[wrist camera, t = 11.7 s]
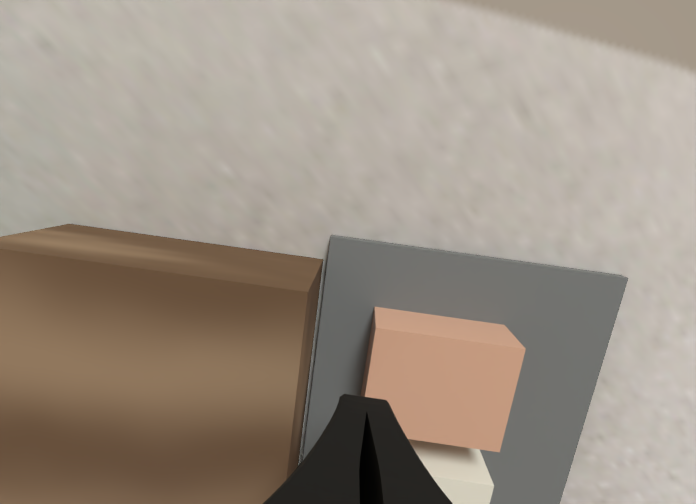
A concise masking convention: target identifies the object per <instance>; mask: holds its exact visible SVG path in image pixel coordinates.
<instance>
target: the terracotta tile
mask: <svg viewBox="0 0 696 504" xmlns="http://www.w3.org/2000/svg"><path fill="white" fill-rule="evenodd" d="M525 350H526V349H525V347H524V346H523V345H522V344H521V343H520V342H519V341H518V340H517V338H516V337H515V336H514V335H513V334H512V333H511V332H510V331H509V329H508V328H507V327H506V326H505V325H502V324H495V323H488V322H481V321H473V320H466V319H459V318H452V317H445V316H438V315H431V314H424V313H417V312H410V311H403V310H396V309H388V308H381V307H374V313H373V319H372V326H371V332H370V338H369V345H368V351H367V358H366V364H365V370H364V377H363V383H362V390H361V396H363V397H370V398H377V399H384V400H387V401H388V403H389V404H390V406H391V408H392V411H393V413H394V415H395V417H396V419H397V421H398V422H399V424H400V426H401V428H402V430H403V432H404V433H405V435H406V437H407V439H412V440H418V441H425V442H432V443H439V444H446V445H452V446H459V447H466V448H473V449H480V450H487V451H493V452H500V449H501V445H502V441H503V437H504V433H505V429H506V425H507V421H508V417H509V413H510V410H511V406H512V402H513V398H514V394H515V390H516V386H517V382H518V378H519V374H520V370H521V366H522V362H523V358H524V354H525Z"/></svg>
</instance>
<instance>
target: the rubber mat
mask: <svg viewBox="0 0 696 504" xmlns="http://www.w3.org/2000/svg"><path fill="white" fill-rule="evenodd" d="M627 281H628V278H627V277H624V276H622V275H616V274H609V273H602V272H595V271H587V270H580V269H573V268H566V267H559V266H551V265H544V264H537V263H530V262H523V261H515V260H508V259H501V258H494V257H487V256H480V255H472V254H465V253H458V252H451V251H444V250H436V249H429V248H422V247H415V246H408V245H401V244H393V243H386V242H379V241H372V240H365V239H357V238H350V237H343V236H336V235H331V237H330V245H329V253H328V261H327V269H326V277H325V285H324V293H323V301H322V309H321V317H320V325H319V333H318V341H317V349H316V357H315V365H314V373H313V381H312V389H311V397H310V405H309V413H308V421H307V429H306V437H305V445H304V453H303V460H304V459H305V457H306V456H307V455H308V453H309V452H310V450H311V449H312V448H313V446H314V445H315V444H316V442H317V441H318V439H319V438H320V436H321V435H322V433H323V431H324V430H325V428H326V426H327V425H328V423H329V421H330V420H331V418H332V416H333V414H334V412H335V410H336V407H337V405H338V402H339V397H340V396H342V395H343V394H349V395H356V396H361V390H362V383H363V377H364V370H365V364H366V358H367V351H368V345H369V338H370V332H371V326H372V319H373V313H374V307H381V308H388V309H396V310H403V311H410V312H417V313H424V314H431V315H438V316H445V317H452V318H459V319H466V320H473V321H481V322H488V323H495V324H502V325H505V326H506V327H507V328H508V329H509V331H510V332H511V333H512V334H513V335H514V336H515V337H516V338H517V340H518V341H519V342H520V343H521V344H522V345H523V346H524V347H525V349H526V350H525V354H524V358H523V362H522V366H521V370H520V374H519V378H518V382H517V386H516V390H515V394H514V398H513V402H512V406H511V410H510V413H509V417H508V421H507V425H506V429H505V433H504V437H503V441H502V445H501V449H500V452H493V451H487V450H480V452H481V454H482V457H483V459H484V462H485V464H486V467H487V469H488V472H489V474H490V477H491V479H492V481H493V484H494V489H493V493H492V497H491V500H490V504H560V501H561V497H562V494H563V491H564V487H565V484H566V481H567V478H568V474H569V471H570V468H571V464H572V461H573V458H574V455H575V451H576V448H577V445H578V441H579V438H580V435H581V432H582V428H583V425H584V422H585V418H586V415H587V412H588V409H589V405H590V402H591V399H592V395H593V392H594V389H595V386H596V382H597V379H598V376H599V372H600V369H601V366H602V363H603V359H604V356H605V353H606V350H607V346H608V343H609V340H610V336H611V333H612V330H613V327H614V323H615V320H616V317H617V313H618V310H619V307H620V304H621V300H622V297H623V294H624V290H625V287H626V284H627Z"/></svg>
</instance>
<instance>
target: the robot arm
mask: <svg viewBox="0 0 696 504" xmlns="http://www.w3.org/2000/svg"><path fill="white" fill-rule="evenodd" d="M263 504H453V503H452V502H451V501H450V500H449V498H448V497H447V496H446V495H445V494H444V492H443V491H442V490H441V488H440V487H439V486H438V484H437V483H436V482H435V480H434V479H433V477H432V476H431V475H430V473H429V472H428V470H427V469H426V467H425V466H424V464H423V463H422V461H421V460H420V458H419V457H418V455H417V454H416V452H415V450H414V449H413V447H412V445H411V444H410V442H409V440H408V439H407V437H406V435H405V433H404V432H403V430H402V428H401V426H400V424H399V422H398V421H397V419H396V417H395V415H394V413H393V411H392V408H391V406H390V404H389V403H388V401H387V400H384V399H377V398H370V397H363V396H356V395H349V394H343V395H342V396H340V397H339V402H338V405H337V407H336V410H335V412H334V414H333V416H332V418H331V420H330V421H329V423H328V425H327V426H326V428H325V430H324V431H323V433H322V435H321V436H320V438H319V439H318V441H317V442H316V444H315V445H314V446H313V448H312V449H311V450H310V452H309V453H308V455H307V456H306V457H305V459H304V460H303V461H302V462H301V464H300V465H299V466H298V467H297V468H296V470H295V471H294V472H293V473H292V474H291V475H290V476H289V478H288V479H287V480H286V481H285V482H284V483H283V484H282V485H281V486H280V487H279V488H278V489H277V490H276V491H275V492H274V493H273V494H272V495H271V496H270V497H269V498H268V499H267V500H266V501H265V502H264V503H263Z"/></svg>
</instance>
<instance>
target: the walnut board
mask: <svg viewBox="0 0 696 504" xmlns="http://www.w3.org/2000/svg"><path fill="white" fill-rule="evenodd" d="M322 265H323V259H316V258H309V257H302V256H295V255H288V254H281V253H273V252H266V251H259V250H252V249H245V248H238V247H231V246H223V245H216V244H209V243H202V242H195V241H188V240H181V239H174V238H166V237H159V236H152V235H145V234H138V233H131V232H124V231H117V230H109V229H102V228H95V227H88V226H81V225H74V224H66V225H61V226H56V227H50V228H45V229H40V230H35V231H29V232H24V233H19V234H13V235H8V236H3V237H0V504H263V503H264V502H265V501H266V500H267V499H268V498H269V497H270V496H271V495H272V494H273V493H274V492H275V491H276V490H277V489H278V488H279V487H280V486H281V485H282V484H283V483H284V482H285V481H286V480H287V479H288V478H289V476H290V475H291V474H292V473H293V472H294V471H295V470H296V468H297V467H298V461H299V453H300V445H301V437H302V428H303V420H304V412H305V404H306V396H307V388H308V379H309V371H310V363H311V355H312V347H313V338H314V330H315V322H316V314H317V306H318V298H319V289H320V281H321V273H322Z"/></svg>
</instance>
